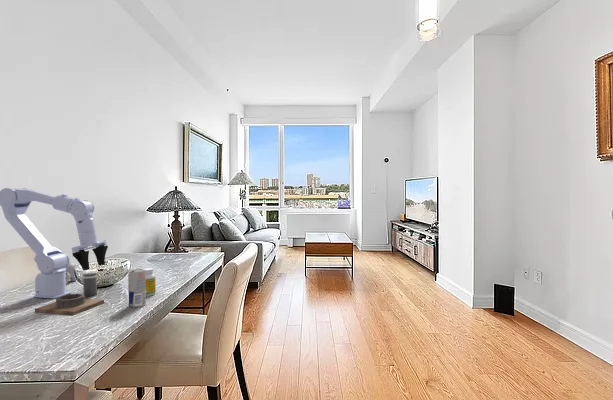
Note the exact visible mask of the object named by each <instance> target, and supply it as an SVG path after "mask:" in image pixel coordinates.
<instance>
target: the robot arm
mask: <svg viewBox="0 0 613 400" xmlns="http://www.w3.org/2000/svg"><path fill="white" fill-rule="evenodd" d="M32 202H37V203H43V204H47V205H51V206H52V208H53V209H54V210H57V211H60V212H64V213H67V214H70V215H71V216H72V217H73V218H74V219H73V220H74V221H75V225H76V229H77V234H78V239H79V243H80V245H77V246H72V247H71V254H72V257H73V258H75V260H76V261H77V262H78V263H79V265H80V267H81V269H82V270H83V271H88V270H90V262H89V256H90V255H89V254H90V249H91V250H92V251H93V253H94V255H95V258H96V261H97V264H98V266H104V265H105V261H106V253H107V250H108V249H109V248H108V245H107V241H106V240H107V239H106V240H99V241H98V237H97V233H96V232H97V231H96V225H95V221H94V217H93V213H94V211H95V205H94V204H93V203H92V202H91V201H89V200H80V198H78V197H75V198H73V197H69V196H68V194H66V193H63V194H57V196H53V195H51V194H47V193H45V192H41V191H38V190H36V189H29V188H25V187H24V188H10V187H5V188H3V189H1V190H0V207H1V209H2V212H3V216H4V218H5V220H6V221H7V222H8V223H9V224H10V225H11V227H12V228H13V230H15V231H16V232H17V234H18V235H19V236H20V237H21V238H22V240H23V241H24V242H25V243H26V244H27V246H28V247H29V248H30V249H31V250H32V251H33V253H34V254H35V256H34V258H33V261H35V263H36V267H37V268H38V271H40V272H39V273H38V274H37V275H36V276H35V279H34V286H35V287H34V289H35V290H34V291H35V293H34V295H33V298H41V299H42V298H44V299H56V298H58V297H60V296H63V295H69V294H73V293H72V291H68V290H67V286H66V285H67V284H66V272H65V270H66V267H67V266H68V265H69V262H71V261H70V256H69V255H68V254H67V253H65V252H63V251H61V249H60V248H58V247H55V246H53V245H51V243H50V242H49V241H48V240H47V238H46V237H44V235H43V234H42V233H41V232H40V231H39V230H38V228H36V226H35V225H34V224H33V223H32V221H31V220H30V219H29V218H28V216H27V215H26V212H27V211H28V209H29V208H30V205H31V203H32ZM66 290H67V291H66Z"/></svg>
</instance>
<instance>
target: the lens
mask: <svg viewBox="0 0 613 400" xmlns="http://www.w3.org/2000/svg"><path fill="white" fill-rule="evenodd" d="M97 276H98V275H97V273H96V272H90V273H89V272H88V273H84V274H83V275H82V279H83V280H82V282H83V283H82V287H83V288H82V290H83V293H82V294H84V295H85V298H89V297H94V296H97V295H98V284H97V281H98V279H97V278H98V277H97Z"/></svg>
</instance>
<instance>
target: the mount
mask: <svg viewBox="0 0 613 400" xmlns="http://www.w3.org/2000/svg"><path fill="white" fill-rule="evenodd" d="M104 303H105V300H104V299H93V298H86V297H85V295H84V294H83V293H70V294H66V295H63V296H60V297H57V298H55V301H54V302H51V303H48V304H44V305H42V306H39V307H37V308H34V312H35V313H42V314H43V313H47V314H57V315H58V314H59V315H71V316H72V315H73V316H74V315H78V314H79V313H82V312H85V311H88V310H89V309H92V308H95V307H98V306H99V305H103V304H104Z"/></svg>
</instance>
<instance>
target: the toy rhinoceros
mask: <svg viewBox="0 0 613 400" xmlns="http://www.w3.org/2000/svg"><path fill="white" fill-rule="evenodd" d="M76 266H78V265H77V263H74V262H72V261H70V262H69V265H68V266H67V267H66V270H65V272H66V285H67V284H68V283H69V281H70V282H72V283H74V282H77V281H76V279H75V277H74V268H75V267H76Z"/></svg>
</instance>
